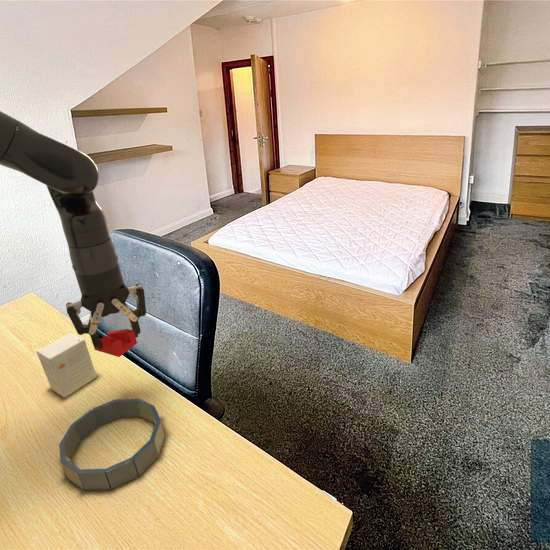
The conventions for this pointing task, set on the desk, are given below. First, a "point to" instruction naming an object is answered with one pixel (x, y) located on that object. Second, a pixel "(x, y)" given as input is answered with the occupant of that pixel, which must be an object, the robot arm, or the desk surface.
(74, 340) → the small box
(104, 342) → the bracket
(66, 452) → the grey segmented ring
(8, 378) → the desk surface
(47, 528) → the desk surface
